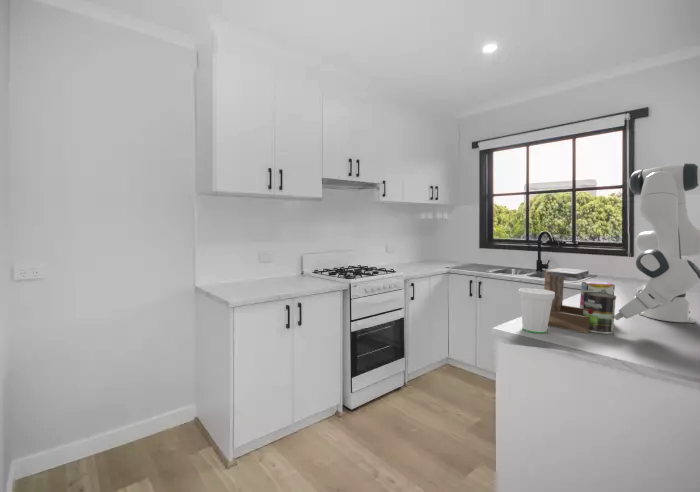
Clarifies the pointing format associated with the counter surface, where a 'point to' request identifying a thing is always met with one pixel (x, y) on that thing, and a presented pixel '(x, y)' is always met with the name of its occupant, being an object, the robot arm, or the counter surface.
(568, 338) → the counter surface
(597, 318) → the coffee can
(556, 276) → the wooden caddy stand
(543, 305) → the cup
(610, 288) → the candy bar box
